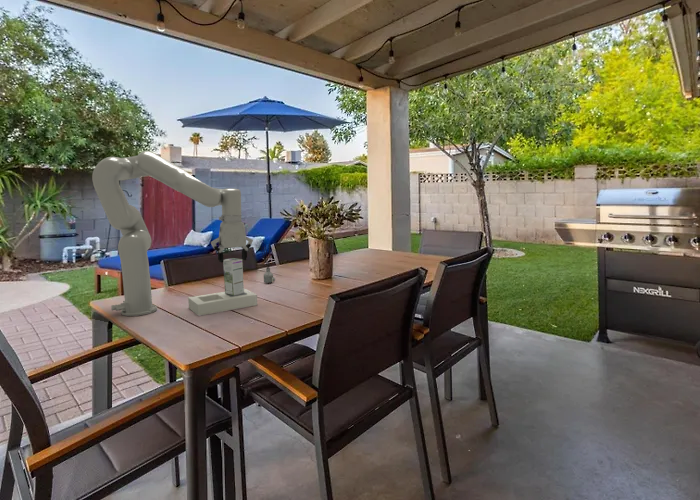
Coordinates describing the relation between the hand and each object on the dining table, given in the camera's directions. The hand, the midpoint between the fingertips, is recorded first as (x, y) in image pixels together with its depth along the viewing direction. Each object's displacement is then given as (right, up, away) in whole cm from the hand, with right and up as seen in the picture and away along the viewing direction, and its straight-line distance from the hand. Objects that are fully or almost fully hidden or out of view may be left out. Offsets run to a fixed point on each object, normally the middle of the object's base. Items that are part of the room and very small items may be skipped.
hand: (232, 260), depth 170 cm
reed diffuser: (+6, -12, +42) cm, 44 cm away
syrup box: (0, -14, +2) cm, 14 cm away
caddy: (-4, -19, 0) cm, 19 cm away
